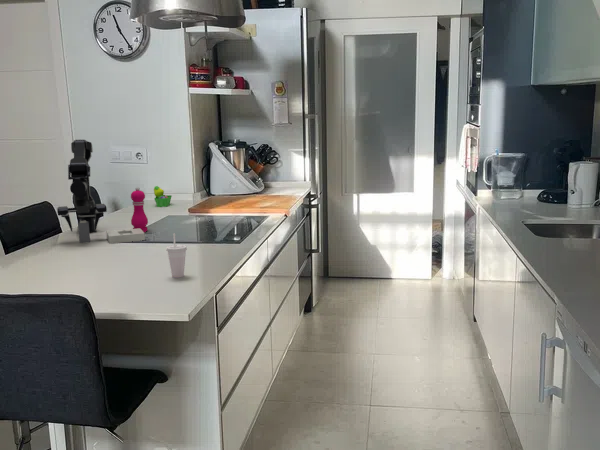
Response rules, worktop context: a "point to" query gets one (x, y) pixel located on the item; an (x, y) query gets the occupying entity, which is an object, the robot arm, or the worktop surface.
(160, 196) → the fruit basket
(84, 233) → the plug
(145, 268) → the worktop surface
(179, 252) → the smoothie
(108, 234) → the socket plate
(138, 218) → the pepper mill
